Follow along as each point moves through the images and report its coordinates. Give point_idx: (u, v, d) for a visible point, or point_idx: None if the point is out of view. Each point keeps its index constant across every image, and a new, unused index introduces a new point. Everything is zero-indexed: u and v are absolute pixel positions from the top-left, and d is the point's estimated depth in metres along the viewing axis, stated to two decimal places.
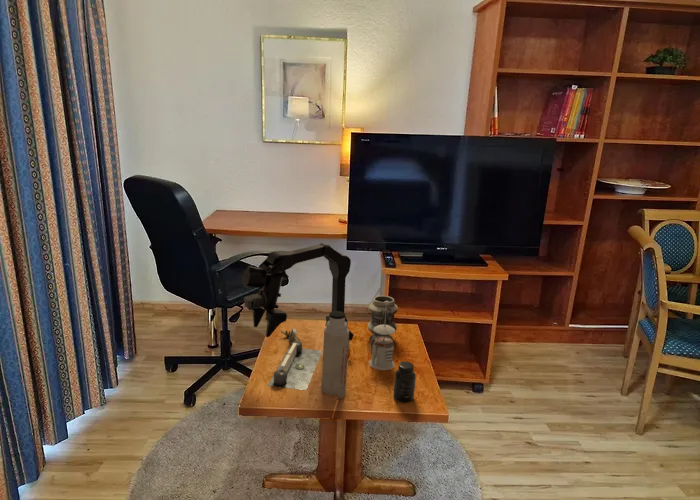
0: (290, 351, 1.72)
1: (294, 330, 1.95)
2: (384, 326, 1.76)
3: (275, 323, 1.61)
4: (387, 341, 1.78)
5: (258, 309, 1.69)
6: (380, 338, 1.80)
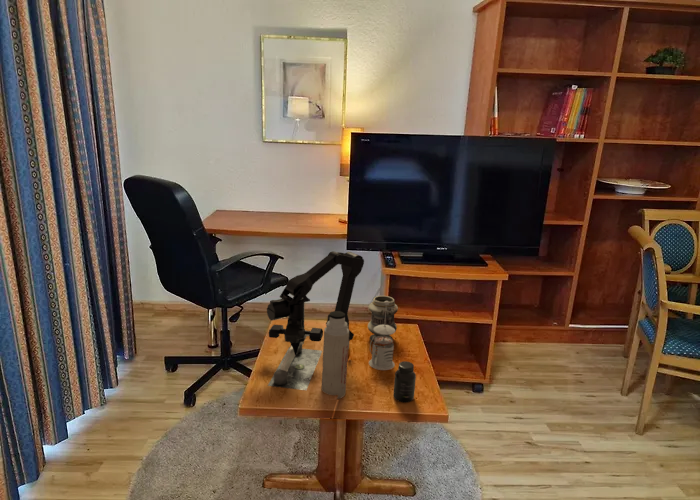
0: (289, 351, 1.72)
1: None
2: (384, 326, 1.76)
3: None
4: (387, 341, 1.78)
5: None
6: (380, 338, 1.80)
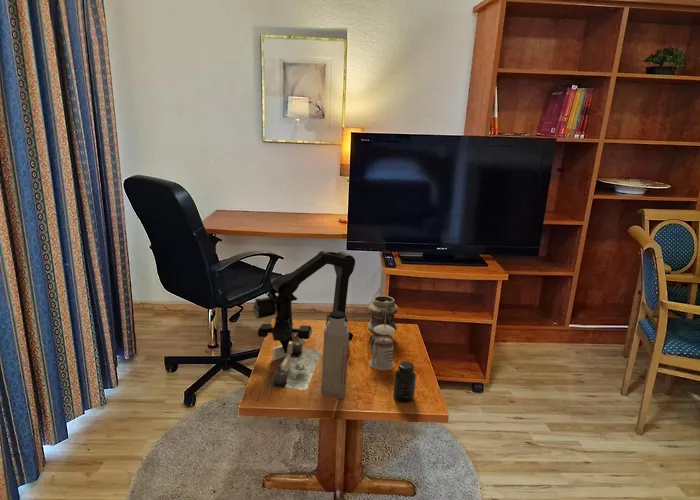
0: (276, 347, 1.75)
1: None
2: (384, 326, 1.76)
3: None
4: (387, 341, 1.78)
5: None
6: (380, 338, 1.80)
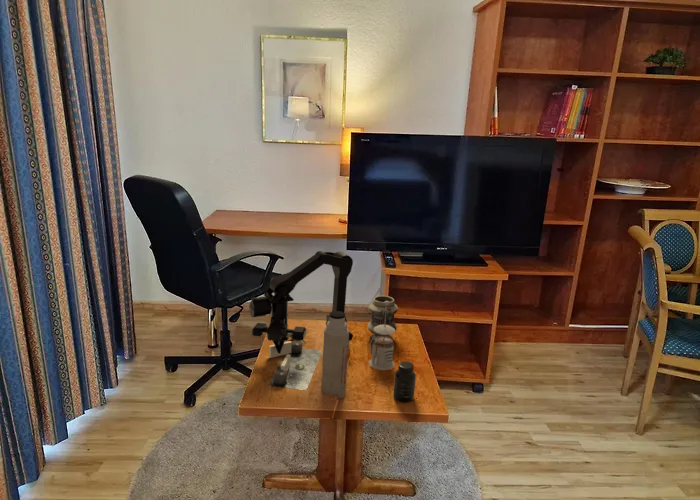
0: (273, 345, 1.76)
1: None
2: (384, 326, 1.76)
3: None
4: (387, 341, 1.78)
5: None
6: (380, 338, 1.80)
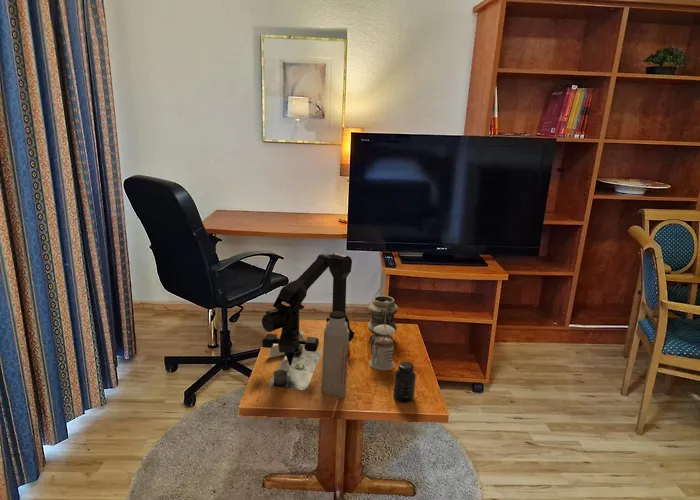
0: (273, 345, 1.76)
1: (301, 332, 1.93)
2: (384, 326, 1.76)
3: None
4: (387, 341, 1.78)
5: None
6: (380, 338, 1.80)
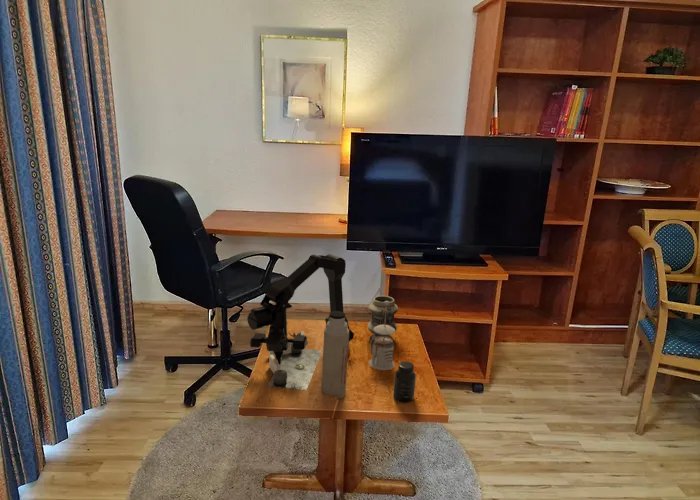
0: None
1: (302, 332, 1.93)
2: (384, 326, 1.76)
3: None
4: (387, 341, 1.78)
5: None
6: (380, 338, 1.80)
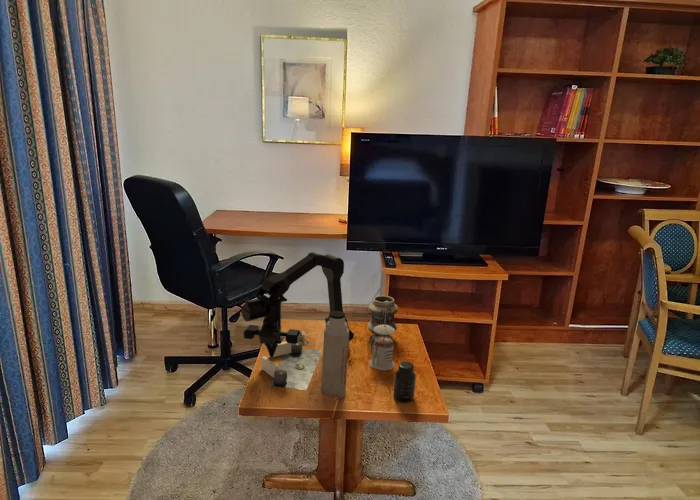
0: None
1: (303, 332, 1.93)
2: (384, 326, 1.76)
3: None
4: (387, 341, 1.78)
5: None
6: (380, 338, 1.80)
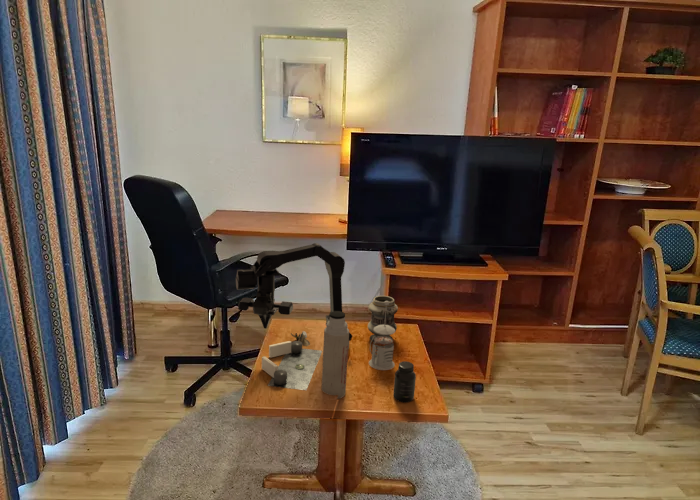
0: (273, 345, 1.76)
1: (304, 333, 1.93)
2: (384, 326, 1.76)
3: None
4: (387, 341, 1.78)
5: None
6: (380, 338, 1.80)
